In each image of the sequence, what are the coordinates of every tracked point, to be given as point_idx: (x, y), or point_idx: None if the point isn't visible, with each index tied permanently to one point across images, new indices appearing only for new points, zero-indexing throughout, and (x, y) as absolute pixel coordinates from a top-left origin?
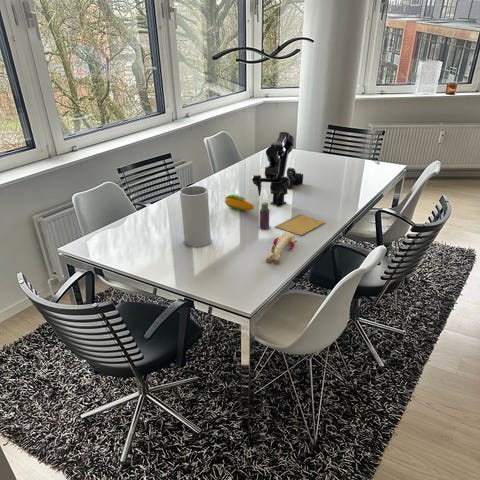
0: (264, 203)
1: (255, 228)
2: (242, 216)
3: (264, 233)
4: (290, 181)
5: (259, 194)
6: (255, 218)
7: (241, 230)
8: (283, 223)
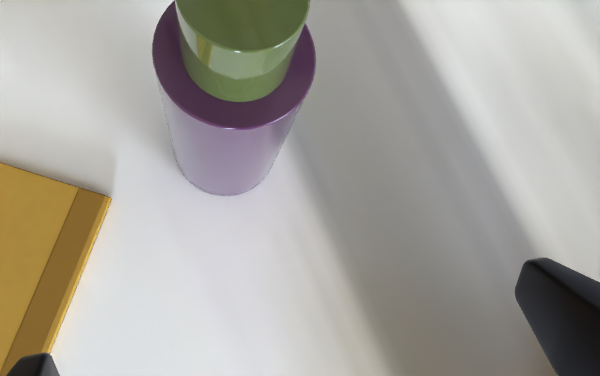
0: (255, 2)
1: None
2: None
3: None
4: None
5: (542, 265)
6: (412, 336)
7: (398, 22)
8: (41, 312)
